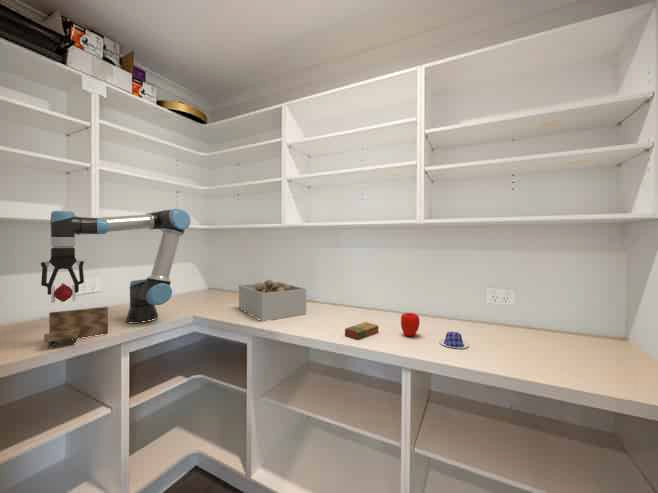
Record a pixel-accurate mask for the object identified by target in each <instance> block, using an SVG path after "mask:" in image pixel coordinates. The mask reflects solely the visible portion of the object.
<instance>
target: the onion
mask: <svg viewBox="0 0 658 493" xmlns="http://www.w3.org/2000/svg"><path fill="white" fill-rule="evenodd" d="M54 296H55V299H56V300H58V301H60V302H61V303H64V302H66V301H68V300H69V299H70V298H72V287H70V286H69V285H67V284H65V283H64V282H62V283H61V284H60V286H58V287H57V288H55V292H54Z"/></svg>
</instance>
